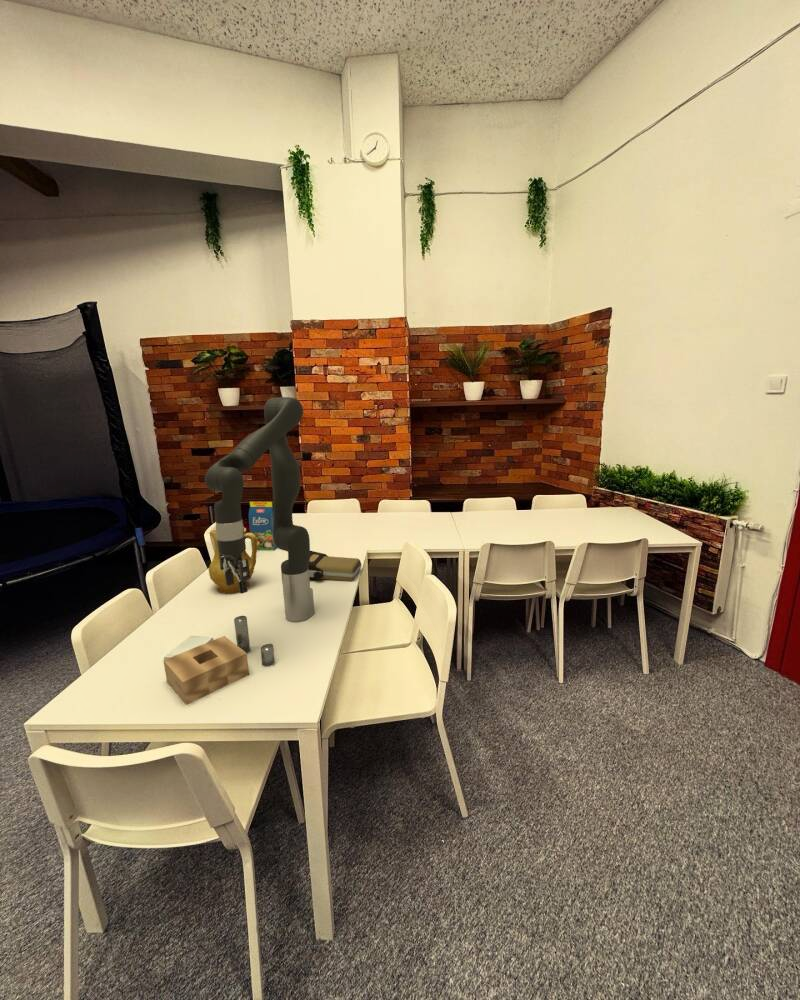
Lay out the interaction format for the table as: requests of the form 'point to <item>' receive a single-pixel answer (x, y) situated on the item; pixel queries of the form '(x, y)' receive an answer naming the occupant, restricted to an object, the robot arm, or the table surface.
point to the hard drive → (189, 645)
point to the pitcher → (219, 576)
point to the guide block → (206, 668)
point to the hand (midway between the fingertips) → (236, 588)
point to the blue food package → (262, 524)
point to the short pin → (267, 655)
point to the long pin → (242, 633)
